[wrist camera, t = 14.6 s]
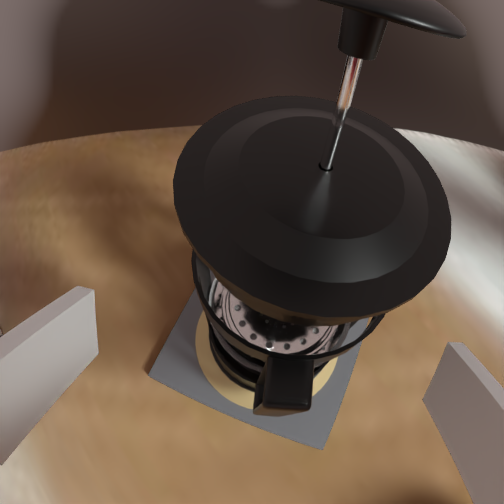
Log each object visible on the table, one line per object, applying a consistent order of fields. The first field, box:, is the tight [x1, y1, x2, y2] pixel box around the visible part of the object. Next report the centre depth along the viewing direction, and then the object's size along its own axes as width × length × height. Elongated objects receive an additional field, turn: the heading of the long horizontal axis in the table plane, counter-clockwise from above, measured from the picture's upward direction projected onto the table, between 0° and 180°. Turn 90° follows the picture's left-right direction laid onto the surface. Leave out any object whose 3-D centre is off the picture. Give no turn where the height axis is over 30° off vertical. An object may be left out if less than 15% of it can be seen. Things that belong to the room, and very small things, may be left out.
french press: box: [173, 0, 466, 417], centre depth 14 cm, size 12×9×23 cm
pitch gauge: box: [148, 270, 368, 450], centre depth 25 cm, size 14×28×9 cm, turn 157°
